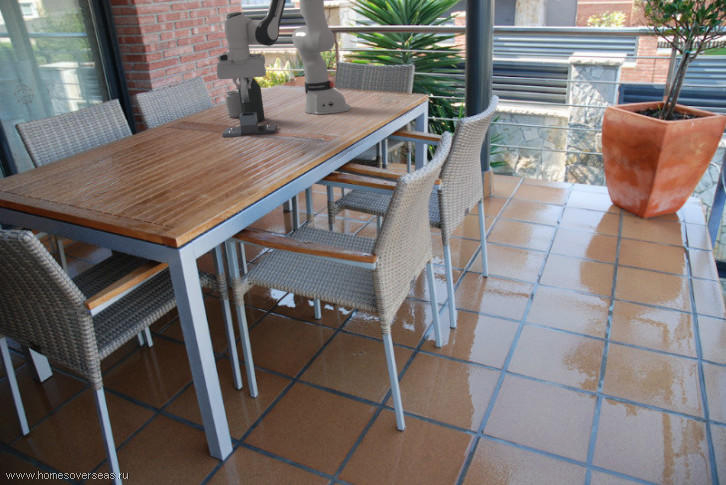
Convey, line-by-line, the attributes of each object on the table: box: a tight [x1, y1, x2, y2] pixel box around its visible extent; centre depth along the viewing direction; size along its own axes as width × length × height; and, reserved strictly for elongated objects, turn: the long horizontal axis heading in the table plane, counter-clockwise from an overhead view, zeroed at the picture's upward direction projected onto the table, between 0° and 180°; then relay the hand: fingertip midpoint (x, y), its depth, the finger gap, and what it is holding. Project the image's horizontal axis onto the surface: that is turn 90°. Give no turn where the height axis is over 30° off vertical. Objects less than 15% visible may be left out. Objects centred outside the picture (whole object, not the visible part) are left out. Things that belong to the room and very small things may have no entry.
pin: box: [238, 78, 249, 103], centre depth 242 cm, size 3×3×12 cm
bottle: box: [237, 77, 265, 123], centre depth 264 cm, size 10×10×30 cm
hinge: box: [221, 112, 278, 138], centre depth 249 cm, size 23×10×8 cm, turn 93°
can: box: [224, 90, 242, 119], centre depth 278 cm, size 8×8×12 cm
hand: (243, 88), depth 242 cm, fingers closed on pin, 3 cm apart
